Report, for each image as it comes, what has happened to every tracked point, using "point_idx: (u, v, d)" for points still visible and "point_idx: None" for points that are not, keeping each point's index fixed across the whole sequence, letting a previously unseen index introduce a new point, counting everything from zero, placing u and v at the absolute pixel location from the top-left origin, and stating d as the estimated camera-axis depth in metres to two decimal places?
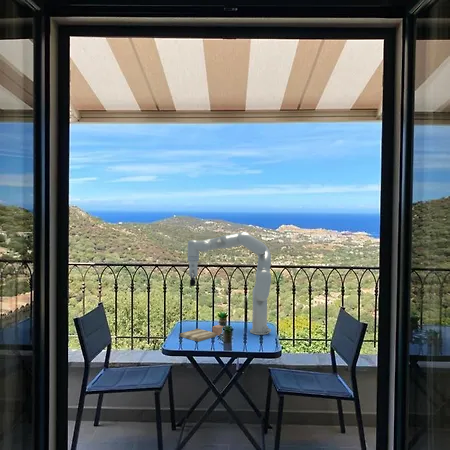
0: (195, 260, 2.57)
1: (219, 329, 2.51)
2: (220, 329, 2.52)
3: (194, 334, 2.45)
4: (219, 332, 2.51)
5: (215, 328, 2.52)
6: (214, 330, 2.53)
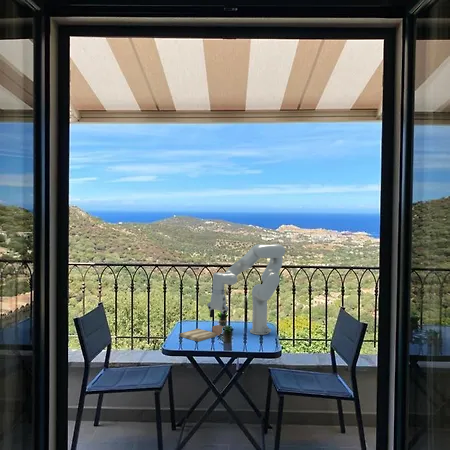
0: (223, 293, 2.53)
1: (219, 329, 2.51)
2: (220, 329, 2.52)
3: (194, 334, 2.45)
4: (219, 332, 2.51)
5: (215, 328, 2.52)
6: (214, 330, 2.53)
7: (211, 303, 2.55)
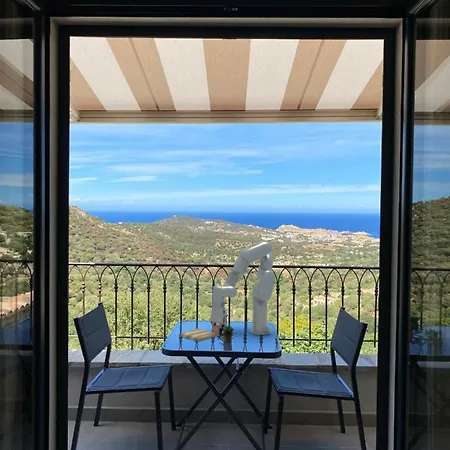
0: (223, 306, 2.53)
1: None
2: None
3: (194, 334, 2.45)
4: None
5: (215, 328, 2.52)
6: (214, 330, 2.53)
7: (211, 316, 2.55)
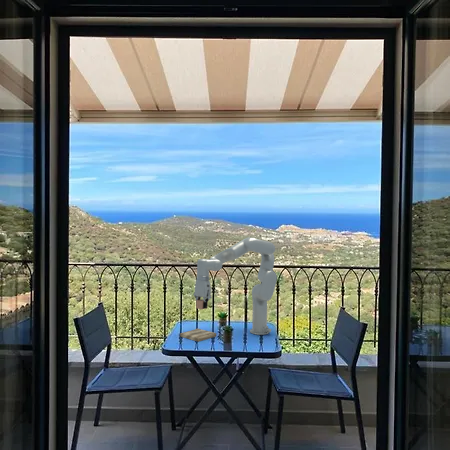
0: (208, 280, 2.48)
1: None
2: None
3: (194, 334, 2.45)
4: None
5: (199, 302, 2.47)
6: (198, 304, 2.47)
7: (195, 290, 2.49)
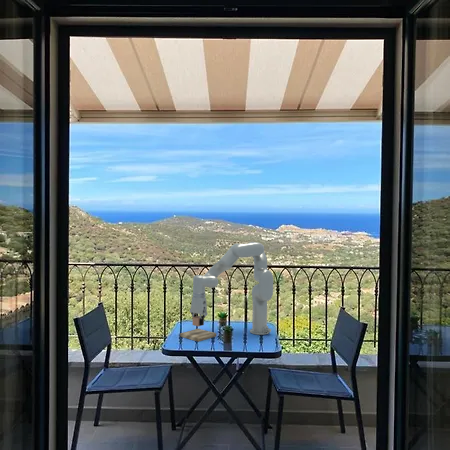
0: None
1: None
2: None
3: (194, 334, 2.45)
4: None
5: (195, 319, 2.45)
6: (194, 321, 2.46)
7: (192, 307, 2.48)
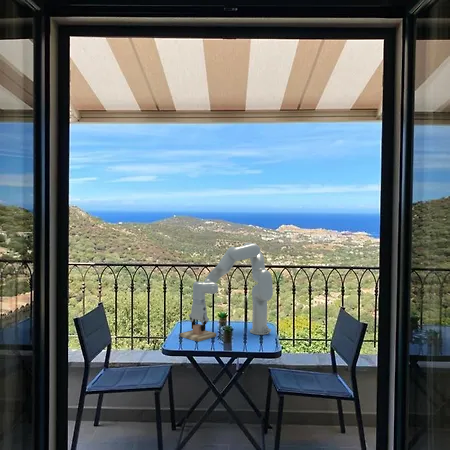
0: None
1: (199, 328, 2.45)
2: (200, 328, 2.45)
3: (194, 334, 2.45)
4: (199, 331, 2.45)
5: (195, 327, 2.45)
6: (194, 329, 2.46)
7: (192, 313, 2.48)
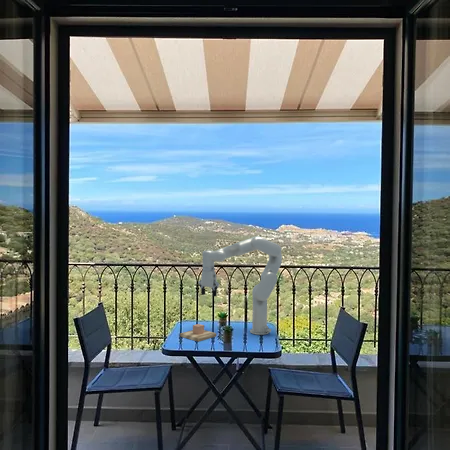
0: (213, 270, 2.57)
1: (199, 328, 2.45)
2: (200, 328, 2.45)
3: (194, 334, 2.45)
4: (199, 331, 2.45)
5: (195, 327, 2.45)
6: (194, 329, 2.46)
7: (202, 281, 2.59)
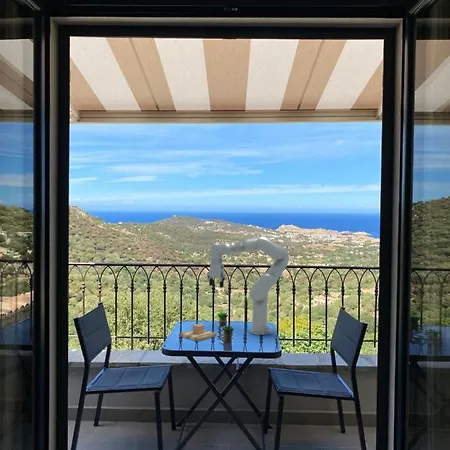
0: (221, 262, 2.68)
1: (199, 328, 2.45)
2: (200, 328, 2.45)
3: (194, 334, 2.45)
4: (199, 331, 2.45)
5: (195, 327, 2.45)
6: (194, 329, 2.46)
7: (210, 272, 2.69)
